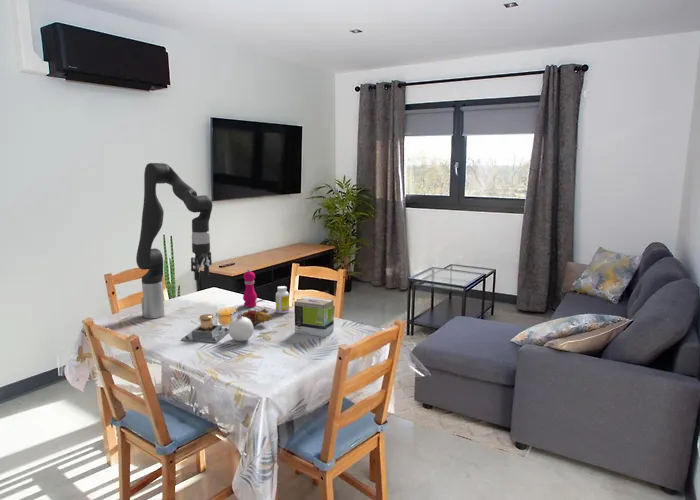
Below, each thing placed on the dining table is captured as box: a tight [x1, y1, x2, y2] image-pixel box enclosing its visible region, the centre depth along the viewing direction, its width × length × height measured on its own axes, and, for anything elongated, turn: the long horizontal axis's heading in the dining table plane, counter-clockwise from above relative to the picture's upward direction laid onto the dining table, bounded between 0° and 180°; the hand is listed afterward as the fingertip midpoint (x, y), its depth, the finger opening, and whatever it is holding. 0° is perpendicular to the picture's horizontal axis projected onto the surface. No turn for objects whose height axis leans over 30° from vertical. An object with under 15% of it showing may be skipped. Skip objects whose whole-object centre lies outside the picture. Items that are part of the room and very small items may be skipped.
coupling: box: [180, 324, 229, 344], centre depth 217 cm, size 16×16×3 cm
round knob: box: [199, 313, 214, 331], centre depth 216 cm, size 6×6×8 cm
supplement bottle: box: [275, 285, 290, 314], centre depth 250 cm, size 7×7×13 cm
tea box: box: [293, 296, 335, 338], centre depth 221 cm, size 15×10×15 cm
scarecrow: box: [239, 308, 274, 325], centre depth 233 cm, size 17×16×8 cm
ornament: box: [228, 313, 254, 342], centre depth 210 cm, size 10×10×12 cm
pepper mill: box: [242, 268, 258, 308], centre depth 259 cm, size 7×7×20 cm
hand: (202, 277), depth 218 cm, fingers open, 8 cm apart
